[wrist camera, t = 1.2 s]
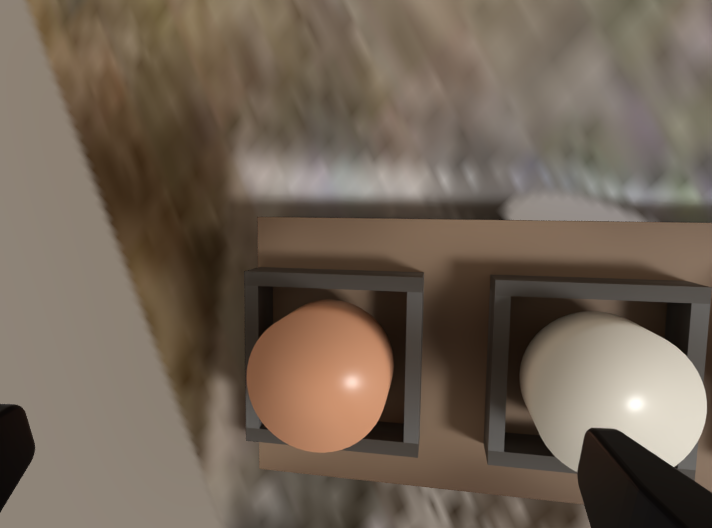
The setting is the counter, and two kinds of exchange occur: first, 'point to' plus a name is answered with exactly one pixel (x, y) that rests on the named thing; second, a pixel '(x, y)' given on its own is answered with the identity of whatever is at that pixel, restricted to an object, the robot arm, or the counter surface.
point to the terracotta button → (321, 376)
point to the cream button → (611, 386)
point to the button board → (476, 333)
